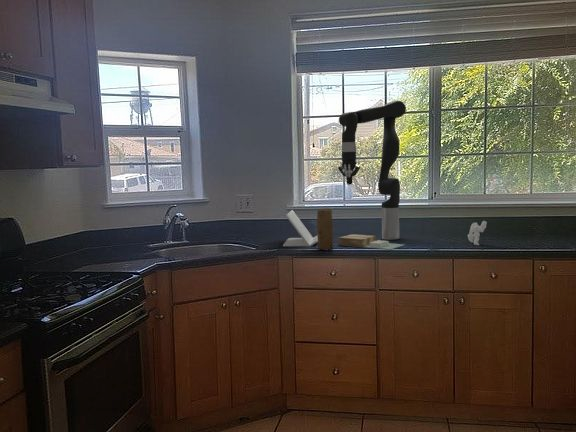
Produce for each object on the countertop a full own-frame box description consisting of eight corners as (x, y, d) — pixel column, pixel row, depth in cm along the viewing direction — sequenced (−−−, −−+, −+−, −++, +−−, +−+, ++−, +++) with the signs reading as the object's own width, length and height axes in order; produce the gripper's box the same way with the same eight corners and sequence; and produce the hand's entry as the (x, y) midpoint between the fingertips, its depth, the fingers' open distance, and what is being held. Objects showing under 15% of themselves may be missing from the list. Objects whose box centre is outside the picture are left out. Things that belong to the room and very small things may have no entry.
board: (352, 241, 281) (352, 234, 281) (375, 243, 272) (375, 235, 272) (338, 245, 270) (338, 237, 270) (361, 247, 261) (361, 239, 261)
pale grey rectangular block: (388, 241, 264) (388, 244, 264) (378, 240, 268) (378, 244, 268) (379, 243, 257) (379, 247, 258) (369, 242, 261) (369, 246, 261)
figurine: (488, 244, 258) (488, 220, 256) (481, 246, 255) (481, 221, 253) (470, 242, 266) (471, 219, 265) (464, 243, 263) (464, 220, 262)
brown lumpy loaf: (333, 250, 256) (332, 209, 253) (318, 250, 256) (317, 210, 254) (332, 246, 266) (331, 207, 264) (317, 247, 266) (316, 208, 264)
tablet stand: (282, 246, 272) (281, 214, 270) (288, 239, 297) (287, 209, 295) (317, 246, 270) (316, 213, 268) (320, 239, 294) (319, 209, 293)
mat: (377, 242, 274) (377, 242, 274) (404, 245, 264) (404, 244, 264) (362, 247, 262) (362, 246, 262) (390, 249, 252) (390, 249, 252)
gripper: (363, 150, 271) (364, 184, 273) (342, 151, 279) (342, 184, 281) (355, 150, 265) (356, 184, 267) (334, 151, 273) (335, 184, 275)
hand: (349, 184), depth 274 cm, fingers closed
